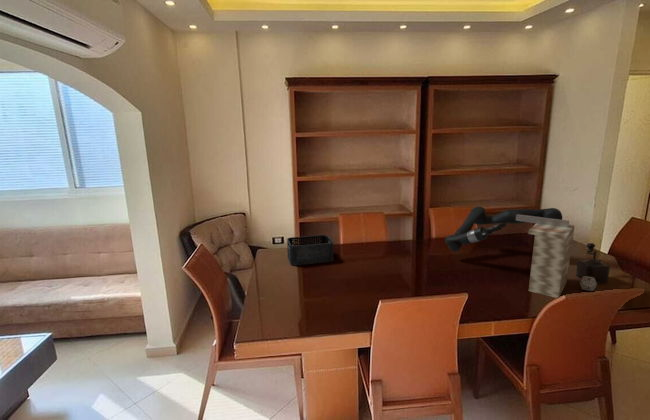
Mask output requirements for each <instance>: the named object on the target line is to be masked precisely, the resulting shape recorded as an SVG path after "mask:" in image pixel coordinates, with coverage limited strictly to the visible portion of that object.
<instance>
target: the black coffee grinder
mask: <svg viewBox="0 0 650 420" xmlns="http://www.w3.org/2000/svg"><path fill="white" fill-rule="evenodd" d="M586 247H587V248H588V249H587V251H586V254H587V255H591V256H592V255H593V257H592V258H591V259H586V260H585V259H581V260H577V262H576V263H577V265H576V273H575V276H576V277H577V278H578V277H579V279H580V280H581V278H582V277H583V275H584V276H589V277H594V276H595V280H596V283H597V284H607V283H609V282H608V281H609V277H610V276H609V275H610V270H611V266H610V265H608V264H606V263H604V262H603V261H602V259H596V256H597V252H598V251H597V250H594V248H595V247H596V244H595V243H593V242H589V243H586ZM582 274H583V275H582Z"/></svg>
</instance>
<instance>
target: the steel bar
mask: <svg viewBox="0 0 650 420" xmlns="http://www.w3.org/2000/svg"><path fill="white" fill-rule="evenodd" d="M516 221H523V222H526V223H530V224H536V223H537V224H545V225H552V226H559V227H566V228H568V227H569V225H570V220H567V219H562V220H559V219H551V218H543V217H536V216H528V215H520V214H517V215H516Z"/></svg>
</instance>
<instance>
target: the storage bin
mask: <svg viewBox="0 0 650 420" xmlns="http://www.w3.org/2000/svg"><path fill="white" fill-rule="evenodd" d="M286 245H287V259H288V261H289V264H290V265H292V266H304V265H311V264H312V265H315V264H322V263H331V262H333V261H334V241H333V239H331V237H330V236H329V235H326V234H320V235H308V236H307V235H305V236H296V237H295V236H294V237H288V238H286ZM320 252H321V253H320ZM309 253H310V254H309ZM299 254H300V255H299ZM301 254H302V255H301Z"/></svg>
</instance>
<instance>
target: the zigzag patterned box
mask: <svg viewBox="0 0 650 420" xmlns="http://www.w3.org/2000/svg"><path fill="white" fill-rule="evenodd" d="M575 227H576V226H575V224H569V227H568V228H566V227H559V226H552V225H545V224H537V223H534V225H532V226H531V227H530V228H529V229H528V233H527V235H534V240H533V248H532V249H533V250H532V256H531V257H532V258H531V265H530V275H529V284H528V292H531V293H535V294H539V295H543V296H548V297H552V298H556V299H558V298H557V297H559V298H560V296H561V294H562V292H563V290H564V288H565V287H566V284H567V281H568V274H569V269H570V261H571V254H572V247H573V246H572V245H573V239H574V233H575Z"/></svg>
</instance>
